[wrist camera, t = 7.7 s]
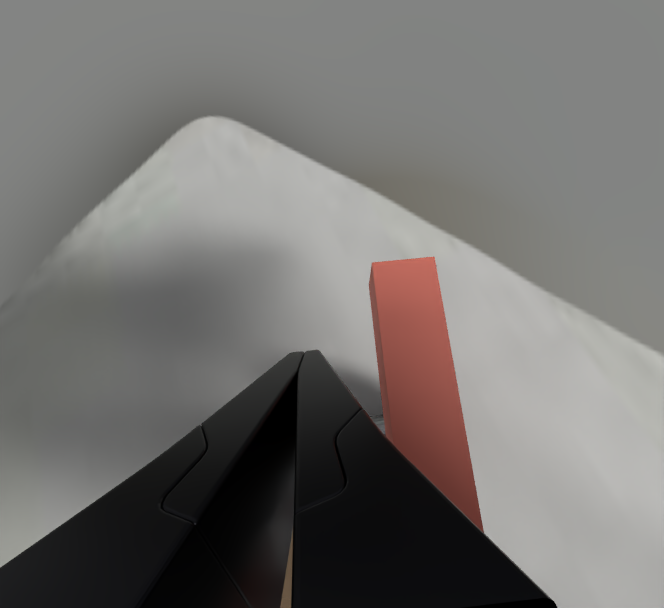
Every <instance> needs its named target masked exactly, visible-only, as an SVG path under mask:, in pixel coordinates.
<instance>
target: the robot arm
mask: <svg viewBox="0 0 664 608" xmlns="http://www.w3.org/2000/svg"><path fill="white" fill-rule="evenodd" d="M201 426H202V427H201ZM201 426H200V425H199V426H197V427H196V428H195V429H194V430H192V431H191V432H190V433H189V434H187V435H186V436H185V437H183V438H182V439H181V440H180V441H178V442H177V443H176V444H174V445H173V446H172V447H170V448H169V449H168V450H167V451H165V452H164V453H163V454H161V455H160V456H159V457H157V458H156V459H154V460H153V461H152V462H150V463H149V464H147V465H146V466H145V467H143V468H142V469H140V470H139V471H138V472H136V473H135V474H133V475H132V476H131V477H129V478H128V479H126V480H125V481H124V482H122V483H121V484H119V485H118V486H116V487H115V488H114V489H112V490H111V491H109V492H108V493H106V494H105V495H104V496H102V497H101V498H99V499H98V500H96V501H95V502H94V503H92V504H91V505H89V506H88V507H86V508H85V509H84V510H82V511H81V512H79V513H78V514H76V515H75V516H74V517H72V518H71V519H69V520H68V521H66V522H65V523H64V524H62V525H61V526H59V527H58V528H56V529H55V530H54V531H52V532H51V533H49V534H48V535H46V536H45V537H44V538H42V539H41V540H39V541H38V542H36V543H35V544H34V545H32V546H31V547H29V548H28V549H26V550H25V551H24V552H22V553H21V554H19V555H18V556H16V557H15V558H14V559H12V560H11V561H9V562H8V563H6V564H5V565H4V566H2V567H1V568H0V608H280V606H281V600H282V594H283V587H284V581H285V575H286V568H287V562H288V556H289V550H290V543H291V537H292V531H293V552H292V590H291V608H557V606H556V604H555V603H554V601H553V600H552V599H551V598H550V597H549V596H548V595H547V594H546V593H545V592H544V591H543V590H542V589H541V588H539V587H538V586H537V585H536V584H535V583H534V582H533V581H532V580H531V579H530V578H529V577H528V576H527V575H526V574H525V573H524V572H523V571H522V570H521V569H520V568H519V567H518V566H517V565H516V564H515V563H514V562H513V561H512V560H511V559H510V558H509V557H508V556H507V555H506V554H505V553H504V552H503V551H502V550H501V549H500V548H499V547H498V546H496V545H495V544H494V543H493V542H492V541H491V540H490V539H489V538H488V537H487V536H486V535H485V534H484V533H483V532H482V531H481V530H480V529H479V528H478V527H477V526H476V525H475V524H474V523H473V522H472V521H471V520H470V519H469V518H468V517H467V516H466V515H465V514H464V513H463V512H462V511H461V510H460V509H459V508H458V507H457V506H456V505H454V504H453V503H452V502H451V501H450V500H449V499H448V498H447V497H446V496H445V495H444V494H443V493H442V492H441V491H440V490H439V489H438V488H437V487H436V486H435V485H434V484H433V483H432V482H431V481H430V480H429V479H428V478H427V477H426V476H425V475H424V474H423V473H422V472H421V471H420V470H419V469H418V468H417V467H416V466H415V465H414V464H413V463H411V462H410V461H409V460H408V459H407V458H406V457H405V456H404V455H403V454H402V453H401V452H400V451H399V450H398V449H397V448H396V447H395V446H394V444H393V443H392V442H391V441H390V440H389V439H388V438H387V437H386V436H385V435H384V434H383V433H382V432H381V430H380V429H379V428H378V427H377V425H376V424H375V423H374V422H373V421H372V419H371V418H370V417H369V415H368V414H367V413H366V411H365V410H363V408H362V407H361V405H360V404H359V403H358V401H357V400H356V399H355V397H354V396H353V395H352V393H351V392H350V391H349V389H348V388H347V387H346V385H345V384H344V383H343V381H342V380H341V379H340V377H339V376H338V375H337V373H336V372H335V371H334V369H333V368H332V367H331V365H330V364H329V363H328V361H327V360H326V359H325V357H324V356H323V355H322V353H321V352H320V351H319V350H311V351H306V352H305V353H304V352H292V353H289V354H288V355H287V356H286V357H284V358H283V359H282V360H281V361H279V362H278V363H277V364H276V365H274V366H273V367H272V368H271V369H269V370H268V371H267V372H266V373H264V374H263V375H262V376H261V377H259V378H258V379H257V380H256V381H254V382H253V383H252V384H251V385H249V386H248V387H247V388H246V389H244V390H243V391H242V392H241V393H239V394H238V395H237V396H236V397H234V398H233V399H232V400H231V401H229V402H228V403H227V404H226V405H224V406H223V407H222V408H221V409H219V410H218V411H217V412H216V413H214V414H213V415H212V416H211V417H209V418H208V419H207V420H206V421H204V422H203V423H202V424H201Z"/></svg>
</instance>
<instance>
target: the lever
mask: <svg viewBox="0 0 664 608" xmlns="http://www.w3.org/2000/svg"><path fill="white" fill-rule="evenodd" d="M369 291H370V300H371V309H372V318H373V326H374V335H375V344H376V353H377V362H378V371H379V380H380V389H381V398H382V407H383V416H384V425H385V434H386V437H387V438H388V439H389V440H390V441H391V442H392V443H393V444H394V446H395V447H396V448H397V449H398V450H399V451H400V452H401V453H402V454H403V455H404V456H405V457H406V458H407V459H408V460H409V461H410V462H411V463H413V464H414V465H415V466H416V467H417V468H418V469H419V470H420V471H421V472H422V473H423V474H424V475H425V476H426V477H427V478H428V479H429V480H430V481H431V482H432V483H433V484H434V485H435V486H436V487H437V488H438V489H439V490H440V491H441V492H442V493H443V494H444V495H445V496H446V497H447V498H448V499H449V500H450V501H451V502H452V503H453V504H454V505H456V506H457V507H458V508H459V509H460V510H461V511H462V512H463V513H464V514H465V515H466V516H467V517H468V518H469V519H470V520H471V521H472V522H473V523H474V524H475V525H476V526H477V527H478V528H479V529H480V530H481V531H482V532H483V533H484V531H483V526H482V520H481V514H480V509H479V503H478V498H477V492H476V486H475V481H474V475H473V470H472V464H471V459H470V453H469V447H468V442H467V436H466V431H465V425H464V420H463V414H462V408H461V403H460V397H459V392H458V386H457V380H456V375H455V369H454V364H453V358H452V353H451V347H450V341H449V336H448V330H447V325H446V319H445V314H444V308H443V302H442V297H441V291H440V286H439V280H438V274H437V269H436V263H435V258H434V257H426V258H416V259H405V260H395V261H384V262H374V263H372V267H371V274H370V281H369Z"/></svg>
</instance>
